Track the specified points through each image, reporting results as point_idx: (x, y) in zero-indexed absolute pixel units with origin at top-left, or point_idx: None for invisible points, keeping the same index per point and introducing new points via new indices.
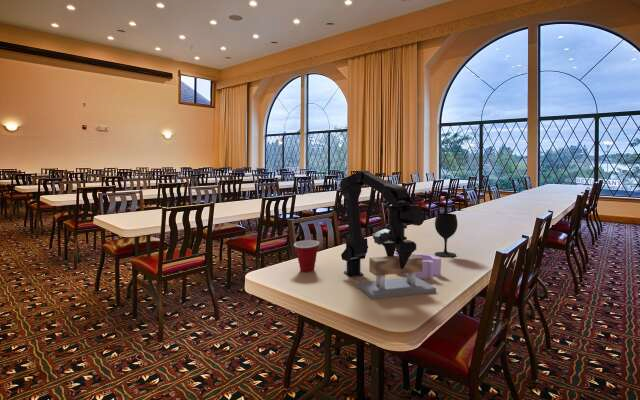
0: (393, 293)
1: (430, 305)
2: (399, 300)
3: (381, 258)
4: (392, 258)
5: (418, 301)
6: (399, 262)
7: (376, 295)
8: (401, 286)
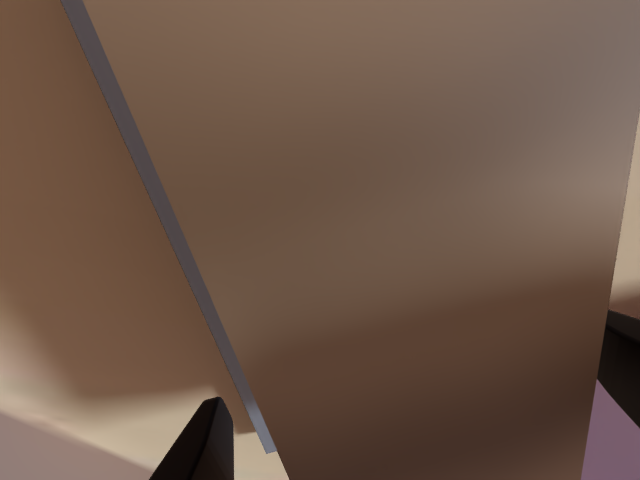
0: (148, 186)
1: (21, 373)
2: (79, 208)
3: (463, 192)
4: (403, 418)
5: (84, 324)
6: (189, 475)
7: (67, 1)
8: None
